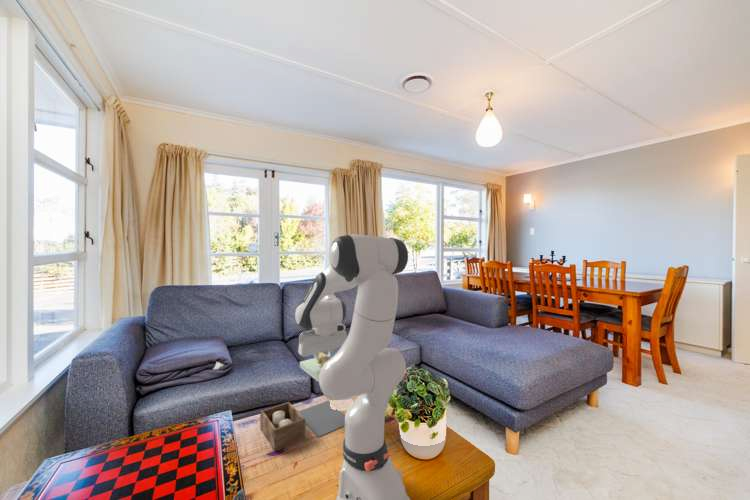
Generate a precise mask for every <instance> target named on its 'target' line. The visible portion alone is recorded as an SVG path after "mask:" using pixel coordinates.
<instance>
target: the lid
mask: <svg viewBox="0 0 750 500" xmlns="http://www.w3.org/2000/svg"><path fill="white" fill-rule="evenodd" d="M327 355H328V354H326V353H325V352H321V353H319V356H318V358H320V359H321V363H320V364H317V363H316V358H315V357H313V358H310V359H305V360H302V361H299V368H300V369H301V370H303V371H304V372H305V373H306V374H308V375H309V376H310V377H311V378H313V379H314V380H315V381H316V382H318V383H319V374H320V371H321V368H322V366H323V365H324V363H325V362H327V361H328V360H329V359H331V358H332V357H333V356H331V358H330V357H329V356H327Z"/></svg>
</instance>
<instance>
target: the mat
mask: <svg viewBox="0 0 750 500" xmlns="http://www.w3.org/2000/svg"><path fill="white" fill-rule="evenodd" d="M330 403H331V402H330V401H329V400H325V401H323V402H320V403H318V404H314V405H312V406H310V407H307V408H304V409H301V410H297V411H298V412H299V413H300V414H301V415H302V416H303V417H304V418H305V425H306V426H307V427H308V428H309V429H310V430H311V431H312V432H313V434H315V435H316V437H317V438H320V437H323V436H325V435H327V434H330V433H332V432H334V430H335V431H337V430H339V429H341V428H343V427H344V428H345V414H346V413H344V412H343V411H341V410H340V411H338V410H337V409H336V410H333V409H331V407H330Z"/></svg>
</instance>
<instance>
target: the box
mask: <svg viewBox="0 0 750 500" xmlns="http://www.w3.org/2000/svg"><path fill="white" fill-rule="evenodd" d="M298 411H299V410H297V409H296V408H295V406H294V405H293V404H291V402H290V401H287V402H283V403H281V404H278V405H275V406H272V407H268V408H265V409H263V410H260V421H259V422H260V431H261V433H262V434H263V436H264V437H265V439H266V441H267V442H268V444H269V445H270V447H271V448H272V450H273V451H274V452H276V451H279V450H281V449H283V448H286V447H288V446H291V445H293V444H295V443H298V442H300V441H302V440H305V439H306V423H305V418H304V417H303V416H302V415H301V414H300V413H299V412H298Z"/></svg>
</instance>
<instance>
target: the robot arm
mask: <svg viewBox="0 0 750 500" xmlns="http://www.w3.org/2000/svg"><path fill="white" fill-rule="evenodd" d="M329 261H330V264H329V265H328V266H327V267H326V268H325V269H324V270H323V271H322V272H319V273H318V274H317V275H316V276H315V278H314V279H313V281H312V282H311V284H310V286H309V288H308V289H307V291H306V293H305V294H304V296H303V298H302V300H301V301H300V302H298V305H297V306H296V307H295V314H294V319H295V323H296V324H297V326H298V327H300V328H301V329H303V330H304V331H302V333H300V334H299V335H298V349H297V350H298V351H297V352H298V354H299V355H300V356H301V357H303V358H304V357H309V356H312V355H313V358H316V363H317V364H320V363H321V359H320V358H318V356H319V353H321V352H322V353H326V352H327V353H328V354H326V355H327V356H329V357H330V358H331V357H332V358H331V359H329V360H328V361H327V362H325V363H324V365H323V366H322V368H321V371H320V374H319V382H318V383H319V387H320V390H321V393H323V395H324V397H326V398H327V399H328V400H330V401H340V400H341V401H343V400H344V401H345V400H350V399H354V398H356V399H355V400H353V402H352V403H350V405H349V406H348V407H347V409H346V412H345V413H344V414H345V426H344V438H343V442H342V457H343V462H342V464H341V468H340V472H339V479H338V480H339V481H338V491H337V497H336V498H335V500H411V498H410V497H409V496H408V494H407V491H406V487H405V484H404V482H403V473H402V471H401V470H400V469H397V470H396V468H395V465H394V464H393V461H392V459H391V458H390V456H391V451H388V445H387V442H386V439H385V421H386V420H385V419H386V418H385V417H386V413H387V408H388V406H389V402H390V399H391V397H392V396H393V393H394V391H395V390H396V388H397V386H398V385H399V384H400V383H401V382H402V381H403V379H404V378H405V375H406V372H407V371H406V370H407V366H406V365H407V364H406V360H405V357H404V356H403V354H402V353H401V351H400V350H398V349H397V348H396V347H395V348H394V347H387V346H388V345H389V344H390V342H391V339H392V337H393V332H394V325H395V320H396V316H397V310H398V304H399V302H398V300H399V283H398V279H397V278H396V275H397V274H401V273H402V272H403V271H404V270H405V269H406V266H407V265H408V262H409V252H408V248H407V246H406V244H405V242H404V241H402V240H401V239H398V238H394V237H384V236H383V237H382V236H374V235H371V234H369V235H368V234H367V235H365V234H364V235H363V234H359V233H351V234H347V235H340V236H337V237H336V238H334V240H333V241H332V242H331V246H330V250H329ZM355 287H357V291H356V297H355V301H354V307H353V313H352V320H351V325H350V329H349V331H348V334H347V331H346V327H347V326H346V325H345V324H343V322H344V321H345V319H346V317H347V306H346V304H345V303H344V302H343V300H341V299H340V298H338V297H336V295H335V293H336V294H337V293H340V292H344V291H345V292H346V291H349V290H351V289H354V288H355ZM337 349H338V350H337ZM334 350H337V351H336V353H335V354H334ZM333 354H334V355H333Z"/></svg>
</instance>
